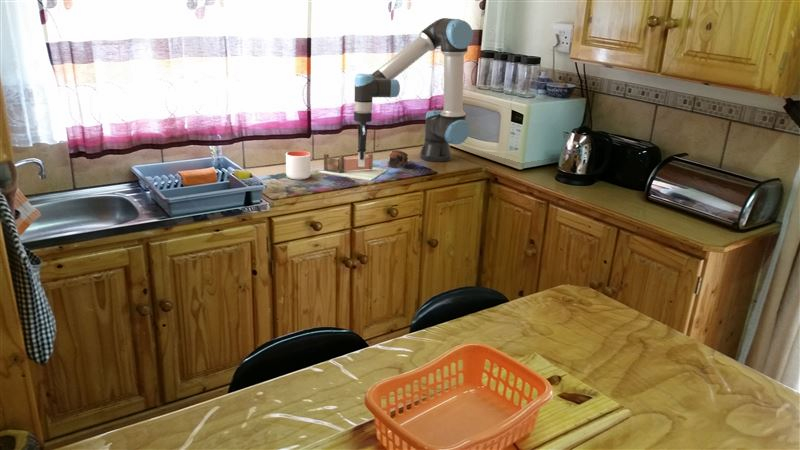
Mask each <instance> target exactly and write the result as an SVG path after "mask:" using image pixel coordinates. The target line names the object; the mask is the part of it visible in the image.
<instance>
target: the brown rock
mask: <svg viewBox="0 0 800 450" xmlns="http://www.w3.org/2000/svg"><path fill="white" fill-rule="evenodd" d="M408 156H409V154H408V153H407V152H405V151H402V150H399V149H398V150H397V149H394V150H392V151H391V153H390V154H389V161H386V163H387V164H386V166H387V167H390V168H394V167H395V169H398V166H399V167H404V165H405V164H407V165H408Z"/></svg>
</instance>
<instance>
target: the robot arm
mask: <svg viewBox="0 0 800 450" xmlns="http://www.w3.org/2000/svg"><path fill="white" fill-rule="evenodd" d="M473 37H474V32H473V29H472V27H471V25H470V24H469V23H468V22H467V21H466V20H463V19H460V18H449V17H442V18H439V19H437V20H435V21H433V22H432V23H430V24H429V25H428V26H427V27H426V28H424V29H422V31H421V32H419V33H418V37H417V38H415V39H414V40H413V41H411V42H410V43H409V44H408V45H407V46H406V47H404V48H403V49H402V50H400V51H399V52H397V54H395V55H394V56H393V57H391V58H390V59H389V60H388V61H387V62H385V63H383V65H382V66H380V68H378V69H377V70H375V71H374V72H373V73H358V74H356V76H355V79H354V103H352V106H353V107H354V109H353V110H354V112H353V120H354V122H358V124H357V135H358V136H357V148H358V149H357V153H358V156H357V158H358V167H365V157H366V152H367V148H366V147H367V137H368V136H367V135H368V125H367V123H371V122H372V118H373V117H372V116H373V113H372V112H373V98H390V99H391V98H396V97H398V96H399V94H400V91H401V87H400V85H401V84H400V82H399V80H398V79H396V77H398V76H399V75H400V74H401V73H403V72H404V71H405V70H407V69H408V68H409V67H410V66H412V65H413V64H414V63H415V62H416V61H418V60H419V59H421V58H422V57H423V56H424V55H426V54H427V53H428V52H429V51H432V52H433V51H434V50H436V49H437V48H439V47H440V53H441V54H442V55H443V56H444V57H443V58H444V59H443V60H444V61H443V63H444V64H443V109H442V110H439V109H438V110H428V111H427V112H426V114H425V124H424V125H425V126H424V142H423V144H422V147H421V150H420V153H419V158H420V160H423V161H428V162H436V163H438V162H439V163H441V162H442V163H443V162H449V161H451V160H452V151H451V148H450V144H451V145H460V144H463V143H465V141H466V140H467V139H468V137H469V135H470V132H471V128H470V124H469V123H468V122H467V120H466V118H467V117H466V115H467V114H466V112H465V111H464V110H463V109H464V108H463V107H464V106H463V104H464V67H465V62H464V61H465V55H466V54H467V53H468V50H469V49H468V47H469V46H470V45H471V43H472V42H473V39H474V38H473Z"/></svg>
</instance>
